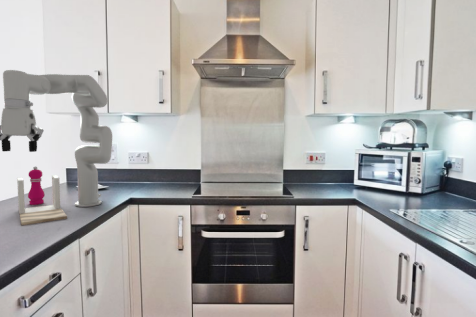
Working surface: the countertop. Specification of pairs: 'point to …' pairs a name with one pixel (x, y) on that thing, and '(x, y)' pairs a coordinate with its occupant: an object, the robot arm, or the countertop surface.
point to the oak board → (42, 216)
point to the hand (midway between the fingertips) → (19, 151)
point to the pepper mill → (36, 187)
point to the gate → (42, 208)
